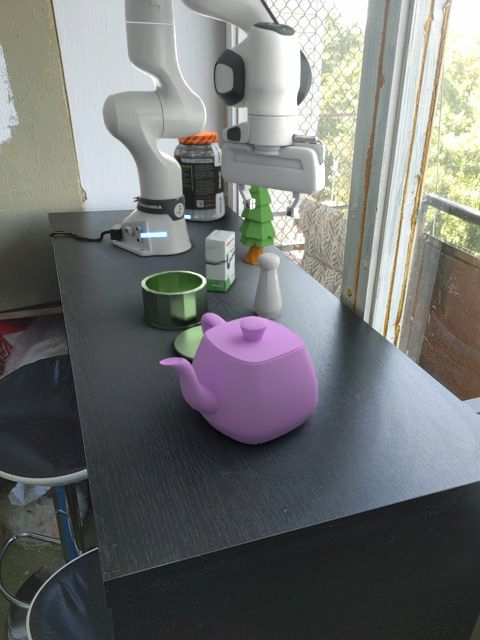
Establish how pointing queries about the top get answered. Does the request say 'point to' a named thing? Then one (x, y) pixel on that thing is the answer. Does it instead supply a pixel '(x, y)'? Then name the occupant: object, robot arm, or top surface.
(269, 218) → the decorative tree
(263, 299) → the salt shaker
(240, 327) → the teapot
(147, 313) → the bowl
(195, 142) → the supplement tub
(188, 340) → the lid
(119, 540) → the top surface
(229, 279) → the ink box
